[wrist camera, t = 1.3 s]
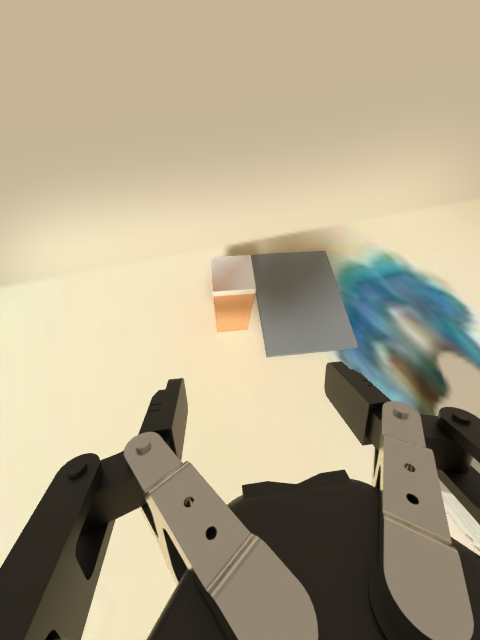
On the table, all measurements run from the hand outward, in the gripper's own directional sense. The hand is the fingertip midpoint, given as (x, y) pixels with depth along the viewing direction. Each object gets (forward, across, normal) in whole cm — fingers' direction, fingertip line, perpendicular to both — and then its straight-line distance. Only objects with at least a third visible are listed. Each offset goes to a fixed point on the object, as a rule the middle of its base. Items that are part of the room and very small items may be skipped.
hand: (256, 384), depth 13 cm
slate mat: (+20, -10, +1) cm, 23 cm away
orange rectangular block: (+19, 0, +2) cm, 19 cm away
